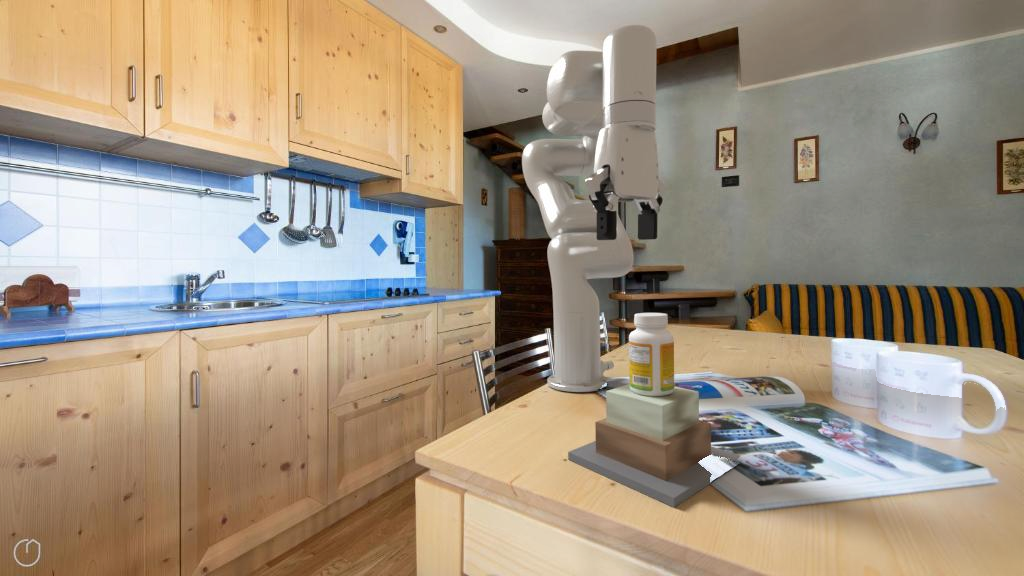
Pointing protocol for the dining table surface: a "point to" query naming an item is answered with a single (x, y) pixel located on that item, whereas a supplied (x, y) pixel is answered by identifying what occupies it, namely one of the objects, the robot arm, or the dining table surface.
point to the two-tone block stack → (653, 431)
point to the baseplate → (647, 484)
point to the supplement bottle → (651, 355)
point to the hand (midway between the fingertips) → (627, 239)
